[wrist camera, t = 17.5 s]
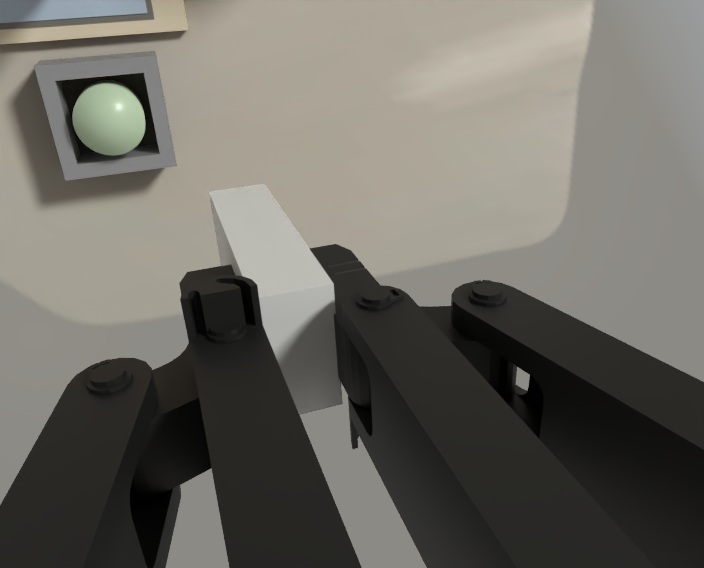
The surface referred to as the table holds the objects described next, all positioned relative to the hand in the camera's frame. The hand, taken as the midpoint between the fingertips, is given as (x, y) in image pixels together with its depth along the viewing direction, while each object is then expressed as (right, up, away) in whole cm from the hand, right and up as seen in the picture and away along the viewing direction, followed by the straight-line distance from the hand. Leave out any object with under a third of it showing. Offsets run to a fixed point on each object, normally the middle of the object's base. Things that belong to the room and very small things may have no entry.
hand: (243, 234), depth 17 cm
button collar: (-11, +9, +18) cm, 23 cm away
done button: (-11, +8, +18) cm, 22 cm away
